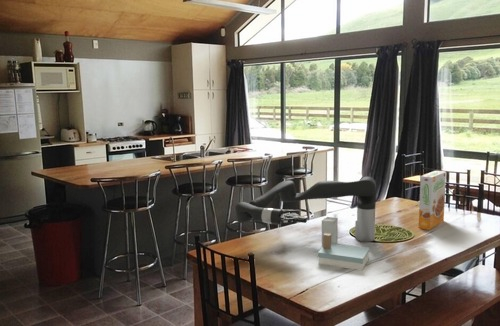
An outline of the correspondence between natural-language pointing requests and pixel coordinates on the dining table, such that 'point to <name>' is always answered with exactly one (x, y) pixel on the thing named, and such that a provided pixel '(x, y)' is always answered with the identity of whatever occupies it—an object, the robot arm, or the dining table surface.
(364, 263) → the box
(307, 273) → the dining table surface
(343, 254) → the lid
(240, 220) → the robot arm
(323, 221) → the skincare box
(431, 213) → the cereal box
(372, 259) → the dining table surface
